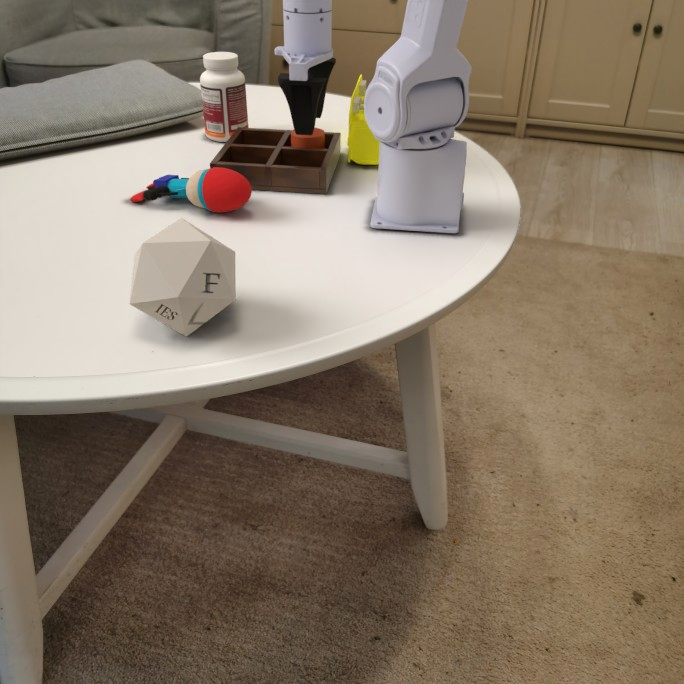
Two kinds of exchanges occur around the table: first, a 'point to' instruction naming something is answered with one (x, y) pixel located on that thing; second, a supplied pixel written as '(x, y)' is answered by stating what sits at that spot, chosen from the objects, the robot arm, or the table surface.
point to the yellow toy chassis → (361, 130)
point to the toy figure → (202, 189)
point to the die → (183, 277)
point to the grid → (279, 160)
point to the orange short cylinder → (309, 139)
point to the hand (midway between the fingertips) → (308, 125)
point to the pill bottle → (223, 96)
